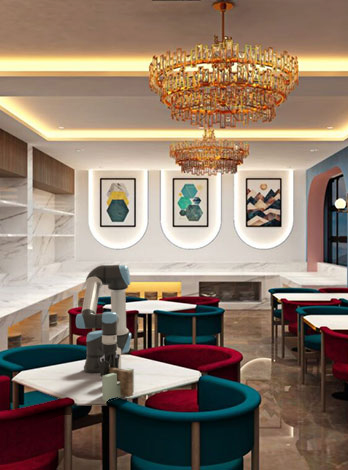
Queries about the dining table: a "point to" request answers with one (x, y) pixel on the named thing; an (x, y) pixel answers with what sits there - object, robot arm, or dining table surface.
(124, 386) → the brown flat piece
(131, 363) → the dining table surface
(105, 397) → the slot stand
